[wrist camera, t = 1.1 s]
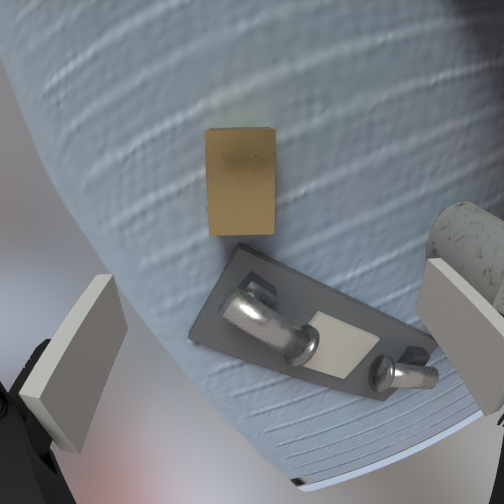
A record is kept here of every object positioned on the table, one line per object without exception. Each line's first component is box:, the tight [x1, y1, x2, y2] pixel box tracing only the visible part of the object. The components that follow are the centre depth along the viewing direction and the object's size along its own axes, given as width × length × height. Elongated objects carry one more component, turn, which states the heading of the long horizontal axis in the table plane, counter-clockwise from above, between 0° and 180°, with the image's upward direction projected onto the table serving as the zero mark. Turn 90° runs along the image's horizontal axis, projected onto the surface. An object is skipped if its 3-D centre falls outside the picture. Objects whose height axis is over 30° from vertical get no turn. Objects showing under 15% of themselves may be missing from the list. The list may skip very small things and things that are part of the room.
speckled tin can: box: [427, 201, 504, 315], centre depth 26 cm, size 10×10×12 cm
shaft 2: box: [368, 345, 439, 392], centre depth 34 cm, size 9×4×6 cm, turn 72°
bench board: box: [188, 243, 438, 401], centre depth 35 cm, size 12×30×1 cm, turn 62°
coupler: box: [205, 127, 276, 236], centre depth 25 cm, size 8×5×5 cm, turn 1°
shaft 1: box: [218, 271, 320, 367], centre depth 29 cm, size 9×4×6 cm, turn 52°
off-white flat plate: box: [283, 311, 380, 379], centre depth 34 cm, size 7×9×1 cm
